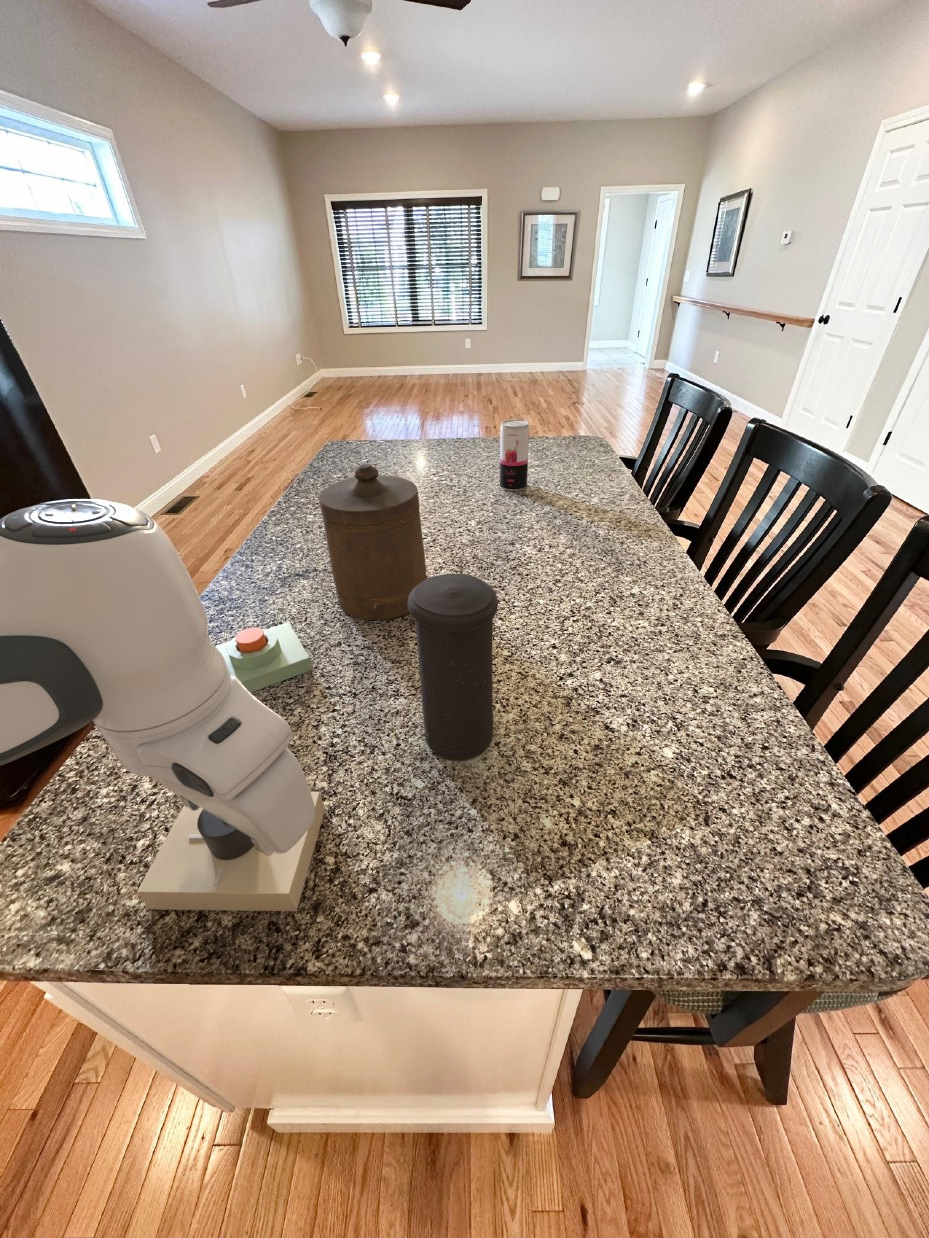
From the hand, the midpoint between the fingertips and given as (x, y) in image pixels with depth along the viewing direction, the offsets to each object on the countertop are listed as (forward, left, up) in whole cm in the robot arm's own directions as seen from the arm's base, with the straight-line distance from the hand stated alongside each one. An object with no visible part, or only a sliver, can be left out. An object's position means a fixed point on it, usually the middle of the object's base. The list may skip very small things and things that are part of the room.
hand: (231, 823), depth 46 cm
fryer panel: (0, 0, -5) cm, 5 cm away
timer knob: (0, 0, -2) cm, 2 cm away
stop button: (+8, +28, -1) cm, 29 cm away
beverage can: (+77, +63, -5) cm, 99 cm away
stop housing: (+8, +28, -5) cm, 30 cm away
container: (+25, +2, -5) cm, 25 cm away
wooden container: (+30, +35, -5) cm, 46 cm away
